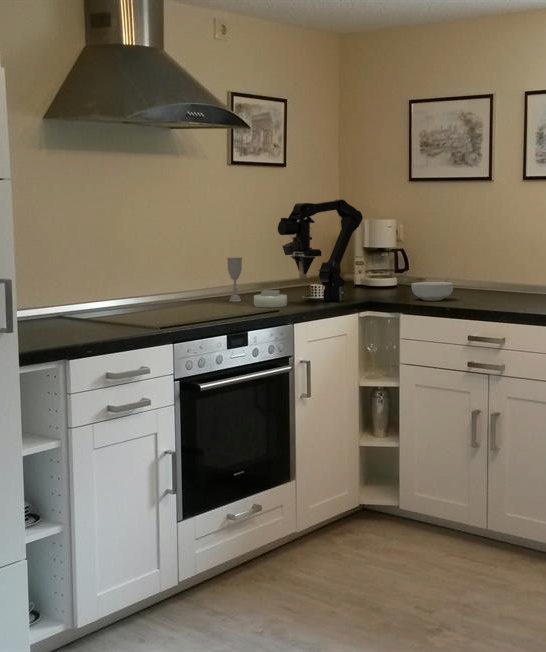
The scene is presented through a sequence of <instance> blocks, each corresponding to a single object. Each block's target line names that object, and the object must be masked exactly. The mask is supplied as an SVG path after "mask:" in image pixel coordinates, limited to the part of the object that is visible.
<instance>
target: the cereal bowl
mask: <svg viewBox="0 0 546 652" xmlns="http://www.w3.org/2000/svg"><path fill="white" fill-rule="evenodd" d="M453 289H454V283H453V282H449V281H448V282H447V281H421V282H413V283H411V291H412V293H413V295H415V296H416V297H418V298H420V299H421V300H422V301H430V302H432V301H434V302H436V301H442V300H443V299H444V298H447V297H448V296H451V294H452V293H453Z"/></svg>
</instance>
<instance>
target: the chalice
mask: <svg viewBox="0 0 546 652" xmlns="http://www.w3.org/2000/svg"><path fill="white" fill-rule="evenodd" d="M243 258H244V257H243V256H242V257H241V256H227V257H226V260H227V272H228V275H229V276H230V278H231V280H233V288H232V290H233V294H232V295H230V297H229V302H241V301H242V300H241V297H240V295H239V294H238V293H237V291H238V289H237V285H238V284H237V280H238V279H239V278H240V276H241V273H242V268H243V266H242V265H243V264H242V263H243Z"/></svg>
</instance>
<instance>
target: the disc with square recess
mask: <svg viewBox="0 0 546 652" xmlns="http://www.w3.org/2000/svg"><path fill="white" fill-rule="evenodd" d="M287 306H288V295H287V294H282V293H280V290H279V289H278V290H277V289H275V290H273V289H272V290H270V289H269V290H268V289H265V290H261V291H260V294H255V295H253V307H256V308H284V307H287Z"/></svg>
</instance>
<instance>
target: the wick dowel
mask: <svg viewBox="0 0 546 652" xmlns="http://www.w3.org/2000/svg"><path fill="white" fill-rule="evenodd" d="M307 274H308V273H307ZM307 274H304V272H303V262H302V260H299V271H298V279H301V280H303V279H306V280H307V278H308V277H307V276H308V275H307Z"/></svg>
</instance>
